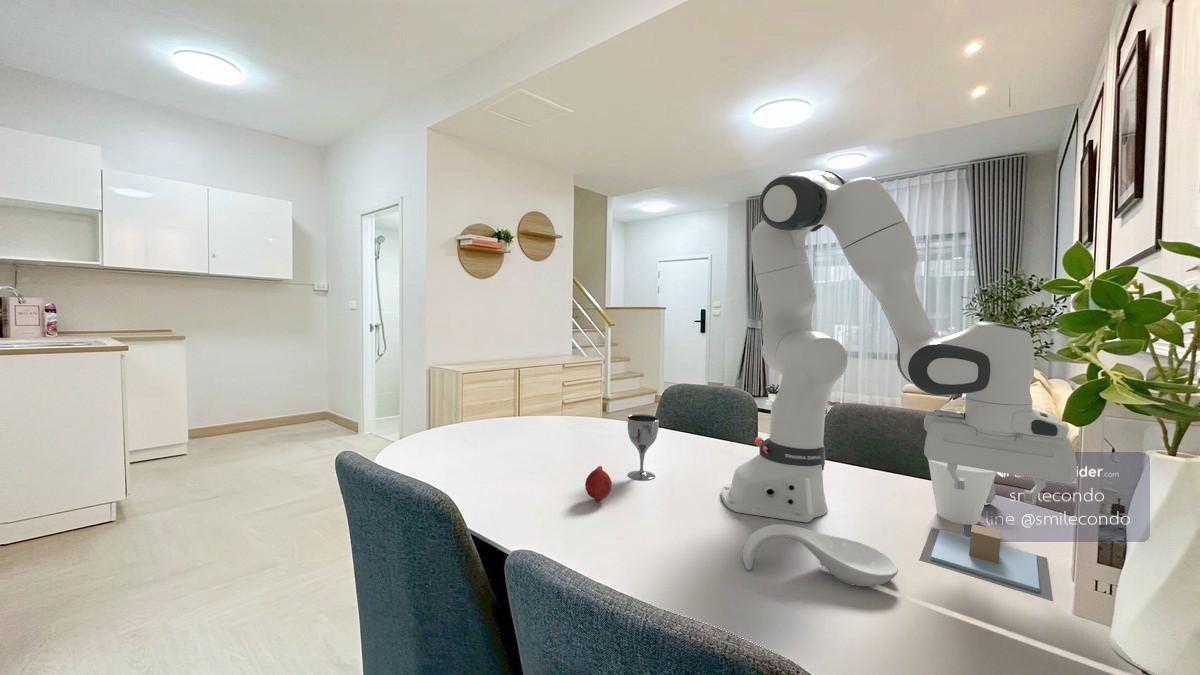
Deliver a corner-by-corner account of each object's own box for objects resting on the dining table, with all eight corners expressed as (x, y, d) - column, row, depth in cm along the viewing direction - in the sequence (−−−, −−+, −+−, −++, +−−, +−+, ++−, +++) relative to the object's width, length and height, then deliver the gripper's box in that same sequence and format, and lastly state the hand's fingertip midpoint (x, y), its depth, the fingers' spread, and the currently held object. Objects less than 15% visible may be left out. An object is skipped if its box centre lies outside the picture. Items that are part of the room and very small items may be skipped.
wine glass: (621, 471, 126) (623, 414, 125) (650, 469, 128) (652, 413, 127) (631, 482, 118) (633, 422, 117) (661, 479, 120) (663, 421, 119)
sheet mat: (1052, 604, 73) (1053, 600, 73) (918, 563, 84) (919, 559, 84) (1046, 561, 85) (1047, 557, 85) (931, 530, 97) (931, 527, 96)
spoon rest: (877, 561, 84) (880, 522, 84) (911, 602, 73) (914, 556, 72) (738, 549, 87) (740, 510, 87) (749, 586, 76) (751, 542, 75)
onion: (587, 507, 103) (588, 470, 102) (583, 496, 109) (583, 462, 108) (613, 505, 104) (614, 469, 104) (608, 495, 110) (609, 461, 109)
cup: (910, 511, 105) (914, 455, 105) (949, 505, 109) (953, 451, 108) (965, 536, 94) (970, 474, 93) (1007, 529, 98) (1012, 469, 97)
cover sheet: (1039, 592, 75) (1042, 561, 74) (930, 559, 84) (932, 531, 83) (1035, 557, 85) (1038, 530, 85) (939, 532, 94) (941, 507, 94)
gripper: (921, 411, 87) (919, 485, 88) (1081, 430, 73) (1076, 518, 74) (927, 405, 92) (924, 476, 93) (1077, 422, 78) (1072, 505, 79)
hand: (993, 495), depth 83 cm, fingers open, 8 cm apart
